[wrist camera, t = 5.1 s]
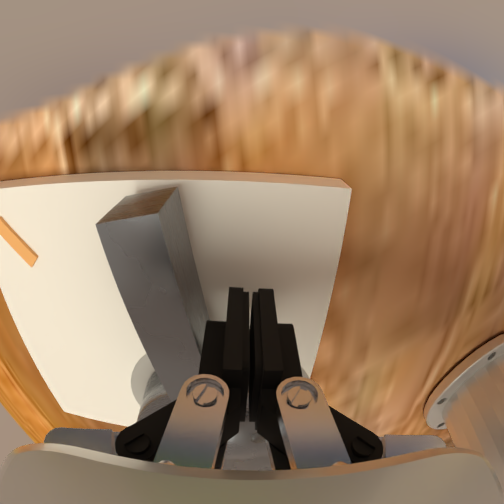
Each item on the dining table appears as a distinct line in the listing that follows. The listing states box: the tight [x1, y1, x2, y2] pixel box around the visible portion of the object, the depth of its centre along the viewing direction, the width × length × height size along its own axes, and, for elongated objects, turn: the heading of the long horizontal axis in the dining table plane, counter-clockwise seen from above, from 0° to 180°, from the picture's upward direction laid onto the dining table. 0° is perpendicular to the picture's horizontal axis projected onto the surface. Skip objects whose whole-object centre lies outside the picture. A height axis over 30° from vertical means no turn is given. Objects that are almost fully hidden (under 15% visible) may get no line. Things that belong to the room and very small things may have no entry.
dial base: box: [0, 171, 352, 427], centre depth 16 cm, size 18×18×2 cm
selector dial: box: [95, 187, 272, 471], centre depth 13 cm, size 18×9×3 cm, turn 7°
